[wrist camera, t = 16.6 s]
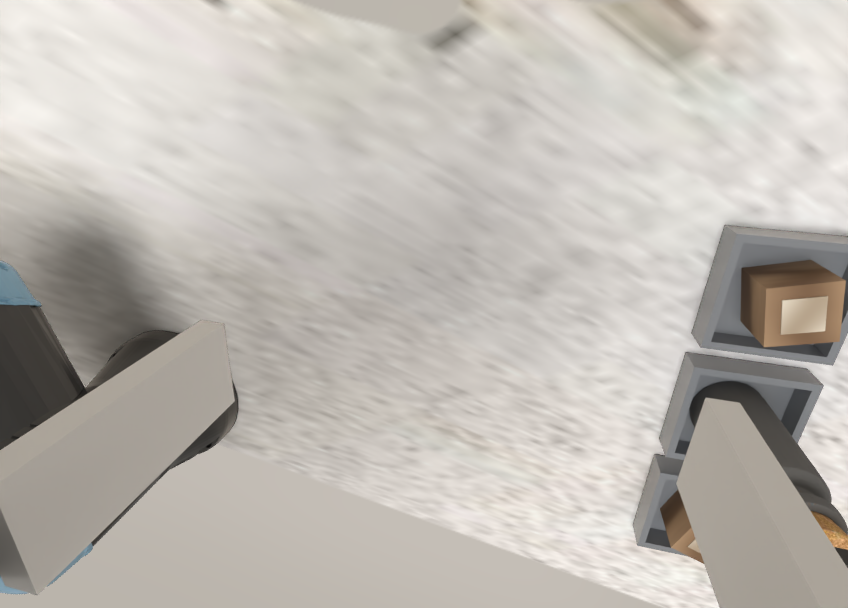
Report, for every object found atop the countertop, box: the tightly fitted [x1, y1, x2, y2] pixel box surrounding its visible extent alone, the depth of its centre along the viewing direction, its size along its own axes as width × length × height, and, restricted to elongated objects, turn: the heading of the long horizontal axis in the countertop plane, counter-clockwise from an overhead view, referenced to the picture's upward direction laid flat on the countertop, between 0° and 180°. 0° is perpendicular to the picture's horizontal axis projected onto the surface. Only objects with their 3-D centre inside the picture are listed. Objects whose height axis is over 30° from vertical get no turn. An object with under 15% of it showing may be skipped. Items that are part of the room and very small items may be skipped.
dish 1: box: [633, 454, 687, 556], centre depth 45 cm, size 9×9×2 cm
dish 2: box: [692, 225, 848, 365], centre depth 36 cm, size 9×9×2 cm
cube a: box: [740, 260, 846, 347], centre depth 35 cm, size 4×4×5 cm
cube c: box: [660, 490, 704, 564], centre depth 43 cm, size 4×4×5 cm
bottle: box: [690, 381, 848, 550], centre depth 34 cm, size 6×6×15 cm
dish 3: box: [659, 352, 824, 460], centre depth 40 cm, size 9×9×2 cm
